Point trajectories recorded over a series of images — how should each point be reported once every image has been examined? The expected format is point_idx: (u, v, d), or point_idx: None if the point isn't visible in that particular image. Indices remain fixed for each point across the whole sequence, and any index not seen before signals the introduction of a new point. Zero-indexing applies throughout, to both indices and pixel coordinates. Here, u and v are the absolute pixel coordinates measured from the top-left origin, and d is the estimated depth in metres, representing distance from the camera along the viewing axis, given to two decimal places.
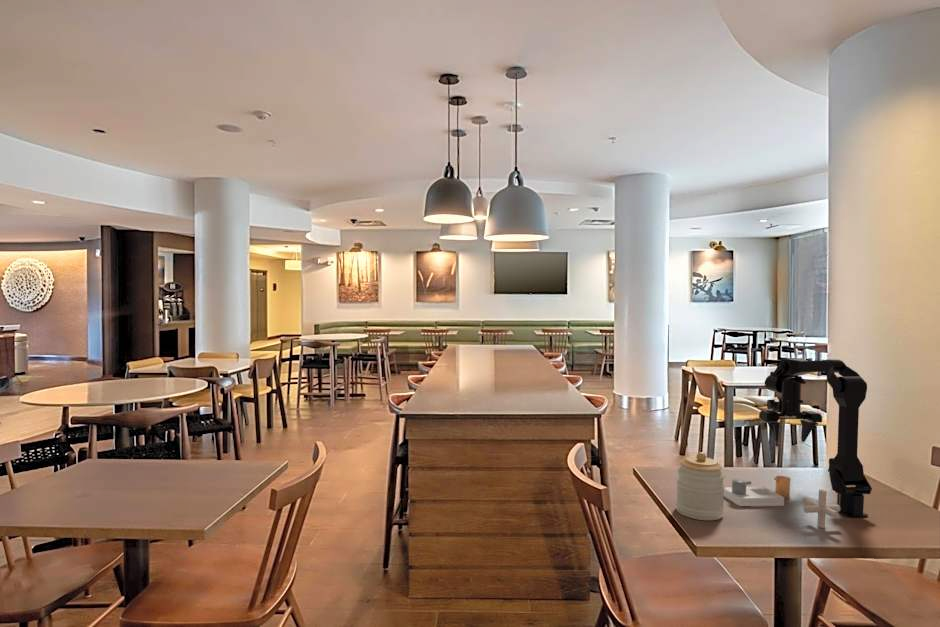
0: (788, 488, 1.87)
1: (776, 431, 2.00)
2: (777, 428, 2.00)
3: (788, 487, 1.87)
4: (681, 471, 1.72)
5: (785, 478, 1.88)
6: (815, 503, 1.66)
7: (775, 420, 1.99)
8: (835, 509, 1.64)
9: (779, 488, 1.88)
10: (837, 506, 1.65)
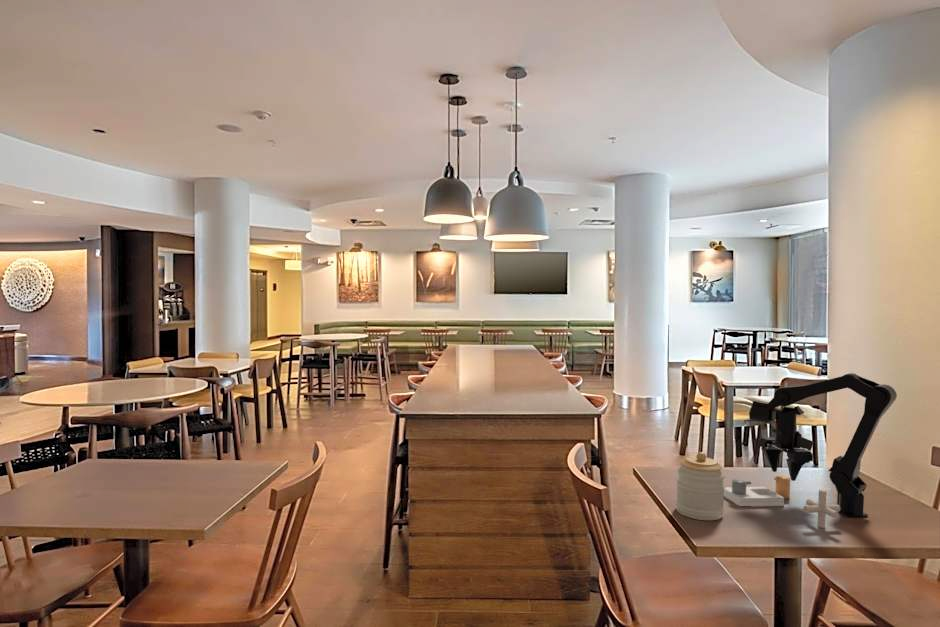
0: (788, 488, 1.87)
1: (767, 459, 1.94)
2: (766, 455, 1.94)
3: (788, 487, 1.87)
4: (681, 471, 1.72)
5: (785, 478, 1.88)
6: (815, 503, 1.66)
7: (762, 446, 1.95)
8: (835, 509, 1.64)
9: (779, 488, 1.88)
10: (837, 506, 1.65)
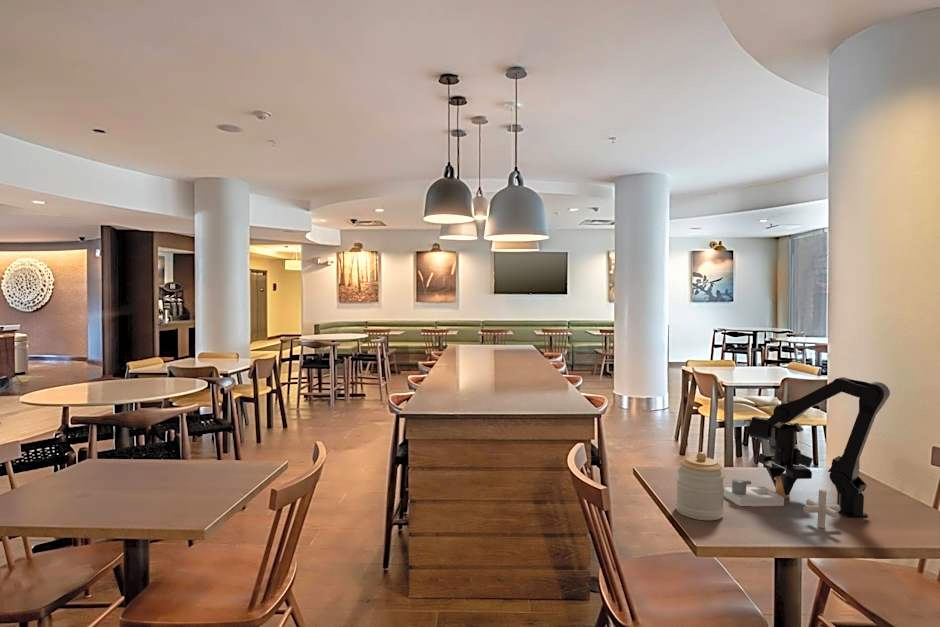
0: None
1: (771, 477, 1.92)
2: (770, 474, 1.92)
3: None
4: (681, 471, 1.72)
5: None
6: (815, 503, 1.66)
7: (761, 462, 1.95)
8: (835, 509, 1.64)
9: (779, 488, 1.88)
10: (837, 506, 1.65)
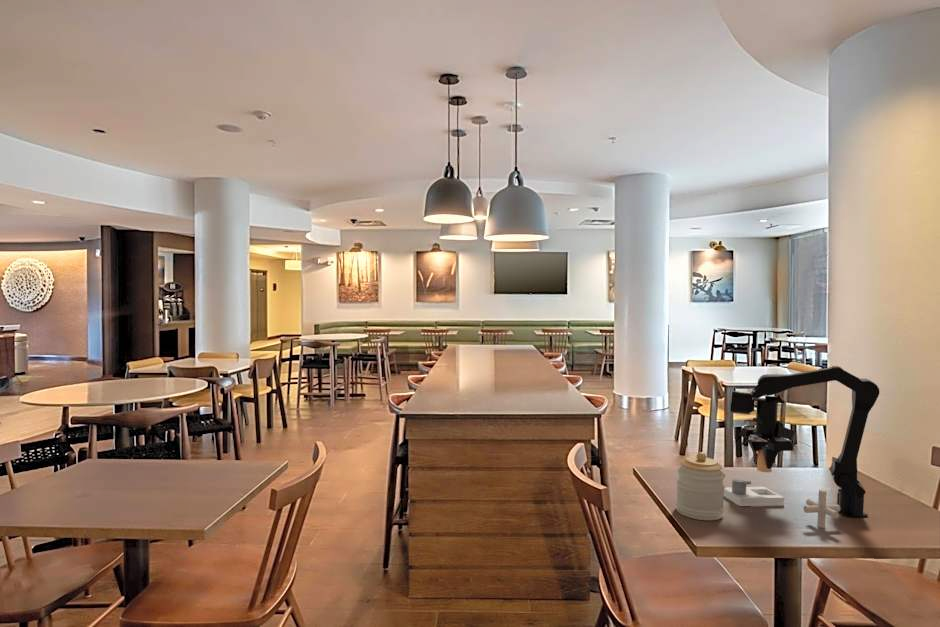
0: None
1: (753, 451, 1.88)
2: (752, 448, 1.87)
3: None
4: (681, 471, 1.72)
5: None
6: (815, 503, 1.66)
7: (743, 436, 1.91)
8: (835, 509, 1.64)
9: (761, 462, 1.84)
10: (837, 506, 1.65)
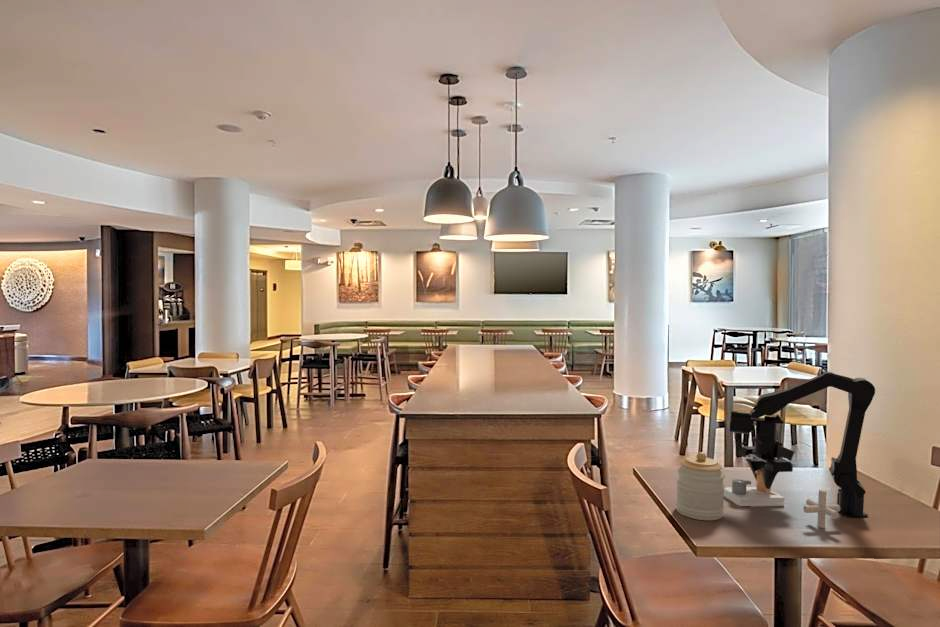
0: None
1: (752, 471, 1.88)
2: (751, 467, 1.88)
3: None
4: (681, 471, 1.72)
5: None
6: (815, 503, 1.66)
7: (742, 455, 1.91)
8: (835, 509, 1.64)
9: (760, 482, 1.84)
10: (837, 506, 1.65)
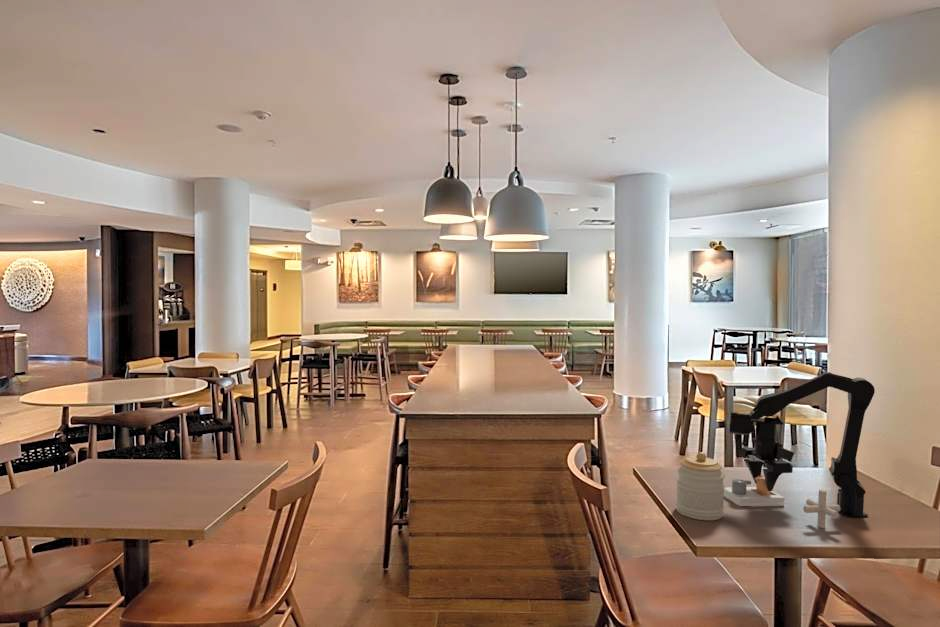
0: None
1: (750, 471, 1.89)
2: (749, 467, 1.89)
3: None
4: (681, 471, 1.72)
5: None
6: (815, 503, 1.66)
7: (742, 456, 1.91)
8: (835, 509, 1.64)
9: (759, 489, 1.84)
10: (837, 506, 1.65)
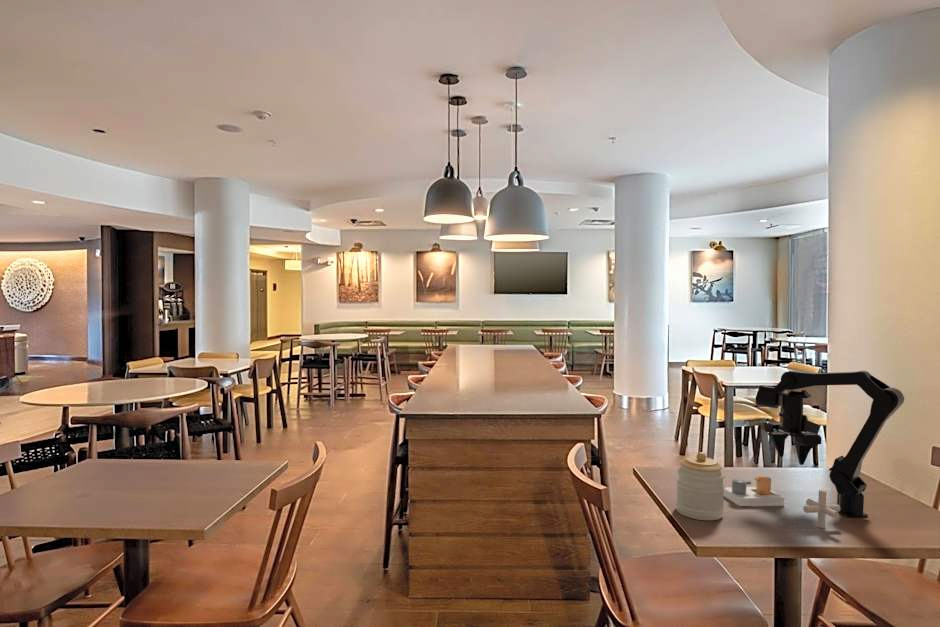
0: (769, 488, 1.83)
1: (774, 444, 1.93)
2: (773, 440, 1.92)
3: (769, 487, 1.83)
4: (681, 471, 1.72)
5: (766, 478, 1.84)
6: (815, 503, 1.66)
7: (768, 431, 1.93)
8: (835, 509, 1.64)
9: (759, 489, 1.84)
10: (837, 506, 1.65)
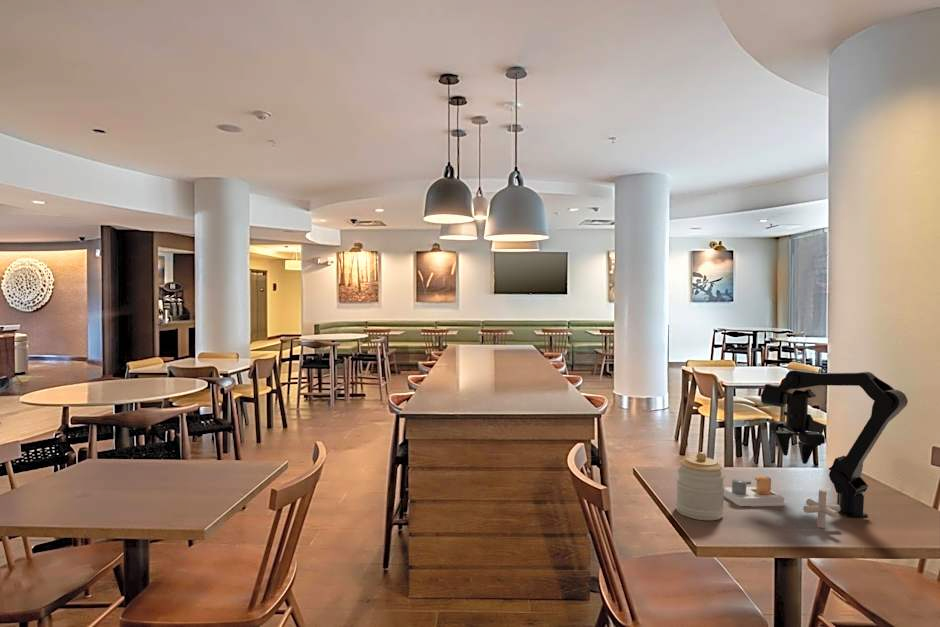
0: (769, 488, 1.83)
1: (778, 442, 1.93)
2: (777, 439, 1.93)
3: (769, 487, 1.83)
4: (681, 471, 1.72)
5: (766, 478, 1.84)
6: (815, 503, 1.66)
7: (773, 429, 1.94)
8: (835, 509, 1.64)
9: (759, 488, 1.84)
10: (837, 506, 1.65)
